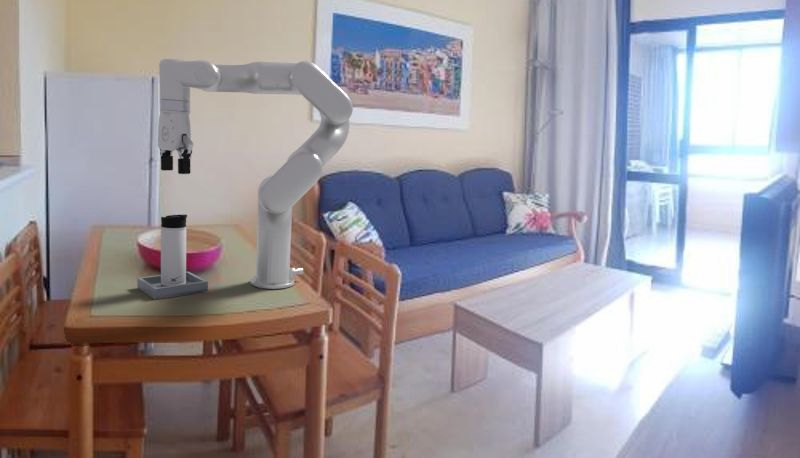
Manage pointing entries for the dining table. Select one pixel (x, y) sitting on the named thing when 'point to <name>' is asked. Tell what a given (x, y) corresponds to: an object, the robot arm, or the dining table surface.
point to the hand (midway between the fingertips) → (175, 172)
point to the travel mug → (173, 250)
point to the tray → (155, 290)
